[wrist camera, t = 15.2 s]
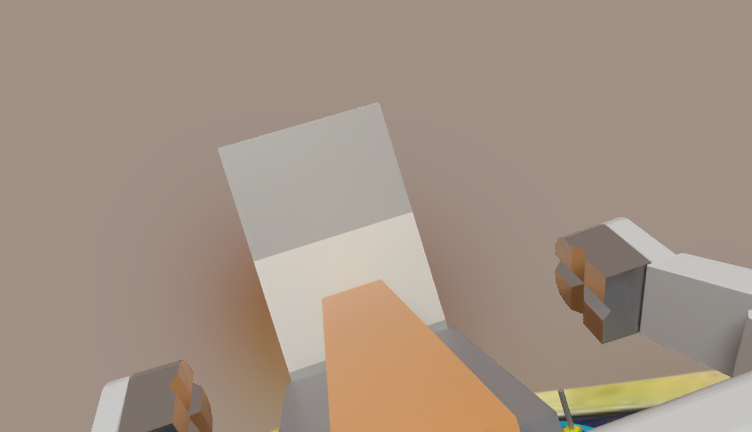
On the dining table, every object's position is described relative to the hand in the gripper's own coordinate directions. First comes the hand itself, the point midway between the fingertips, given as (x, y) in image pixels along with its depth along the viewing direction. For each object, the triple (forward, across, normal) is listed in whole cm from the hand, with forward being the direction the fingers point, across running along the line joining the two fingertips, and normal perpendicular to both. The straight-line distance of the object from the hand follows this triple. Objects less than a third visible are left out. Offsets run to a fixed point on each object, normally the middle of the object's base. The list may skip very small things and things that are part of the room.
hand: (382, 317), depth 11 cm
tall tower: (+13, 0, -31) cm, 33 cm away
